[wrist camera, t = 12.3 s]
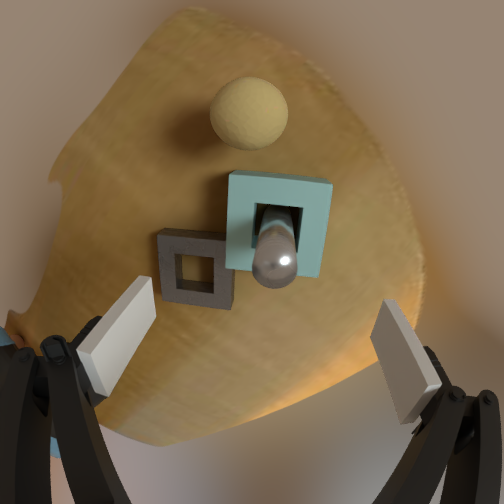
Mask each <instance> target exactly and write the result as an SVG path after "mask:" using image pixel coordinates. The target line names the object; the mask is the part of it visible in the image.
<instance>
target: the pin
mask: <svg viewBox="0 0 504 504" xmlns="http://www.w3.org/2000/svg"><path fill="white" fill-rule="evenodd" d="M297 271H298V265H297V257H296V248H295V240H294V232H293V224H292V217H291V213H290V210H289V209H288V208H287V207H286V206H284V205H275V204H272V205H270V206H269V207H267V208H266V210H265V211H264V214H263V218H262V223H261V227H260V232H259V236H258V241H257V245H256V249H255V254H254V258H253V263H252V273H253V276H254V277H255V279H256V280H257V281H258V282H259V283H260V284H261V285H263V286H265V287H268V288H272V289H277V288H282V287H285V286H287V285H289V284H290V283H291V282H292V281H293V280H294V279H295V277H296V275H297Z"/></svg>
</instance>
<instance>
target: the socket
mask: <svg viewBox="0 0 504 504" xmlns="http://www.w3.org/2000/svg"><path fill="white" fill-rule="evenodd" d="M332 189H333V184H332V183H331V182H329V181H328V180H327V179H323V178H315V177H307V176H299V175H289V174H279V173H269V172H257V171H243V170H235V171H233V172H232V173H230V174H229V187H228V209H227V235H226V266H225V268H228V269H238V270H247V271H252V263H253V258H254V254H255V249H256V245H257V241H258V236H257V235H255V223H256V210H257V203H264V204H275V205H285V206H294V207H300V210H299V218H298V226H297V234H296V239H294V240H295V248H296V257H297V265H298V271H297V276H307V277H318V276H319V270H320V265H321V259H322V254H323V248H324V242H325V236H326V230H327V224H328V217H329V210H330V204H331V196H332Z"/></svg>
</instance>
